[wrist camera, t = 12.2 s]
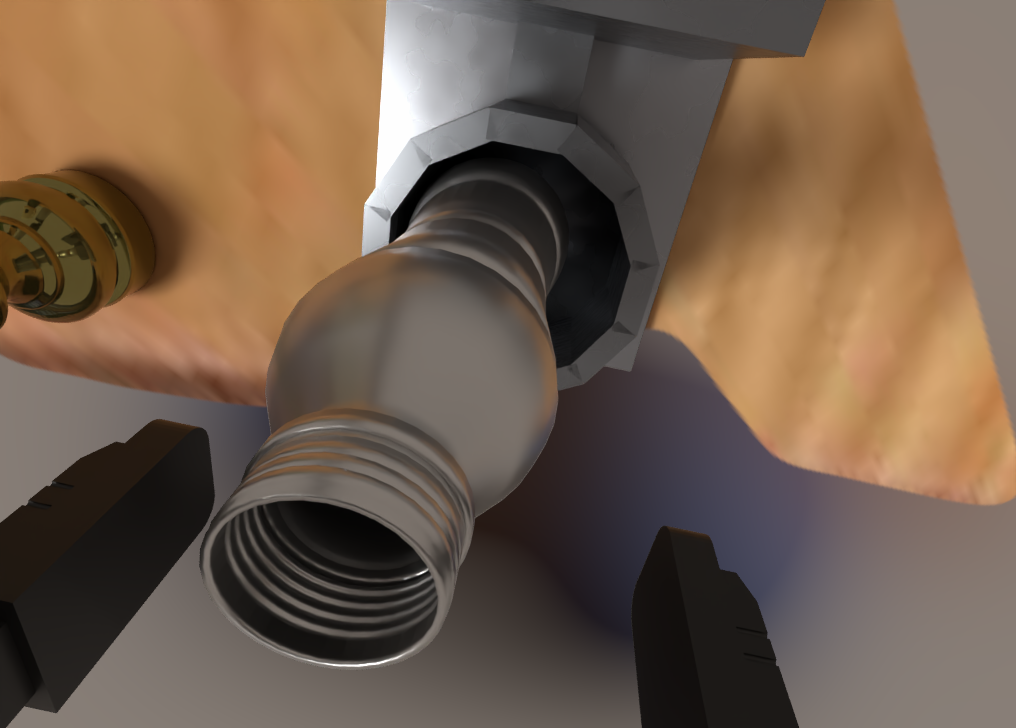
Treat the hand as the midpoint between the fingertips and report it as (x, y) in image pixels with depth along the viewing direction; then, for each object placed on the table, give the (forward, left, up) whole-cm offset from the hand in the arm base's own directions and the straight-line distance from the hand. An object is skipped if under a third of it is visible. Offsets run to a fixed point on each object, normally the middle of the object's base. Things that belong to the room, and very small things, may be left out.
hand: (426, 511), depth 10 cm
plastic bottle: (0, -1, -18) cm, 18 cm away
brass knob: (+6, -24, -22) cm, 33 cm away
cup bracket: (-2, 0, -22) cm, 22 cm away
